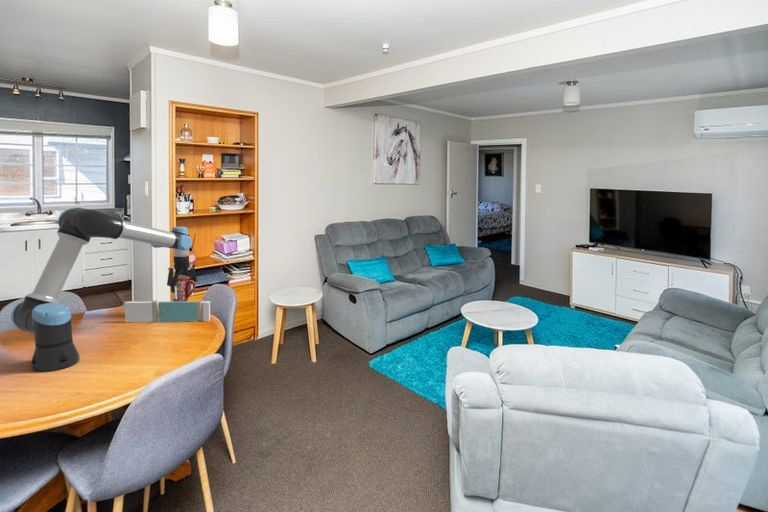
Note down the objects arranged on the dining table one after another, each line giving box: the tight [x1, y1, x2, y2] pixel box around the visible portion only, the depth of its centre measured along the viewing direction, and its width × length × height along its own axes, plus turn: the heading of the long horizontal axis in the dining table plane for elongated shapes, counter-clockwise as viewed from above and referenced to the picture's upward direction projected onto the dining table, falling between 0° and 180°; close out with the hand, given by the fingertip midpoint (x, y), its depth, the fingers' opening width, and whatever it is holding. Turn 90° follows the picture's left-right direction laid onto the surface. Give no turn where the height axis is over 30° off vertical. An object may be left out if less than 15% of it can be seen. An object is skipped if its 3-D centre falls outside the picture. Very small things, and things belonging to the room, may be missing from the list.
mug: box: [172, 274, 196, 302], centre depth 232 cm, size 13×9×14 cm
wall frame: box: [123, 300, 211, 323], centre depth 223 cm, size 2×41×11 cm, turn 99°
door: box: [157, 300, 200, 323], centre depth 223 cm, size 4×19×10 cm, turn 99°
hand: (183, 296), depth 232 cm, fingers closed on mug, 8 cm apart
